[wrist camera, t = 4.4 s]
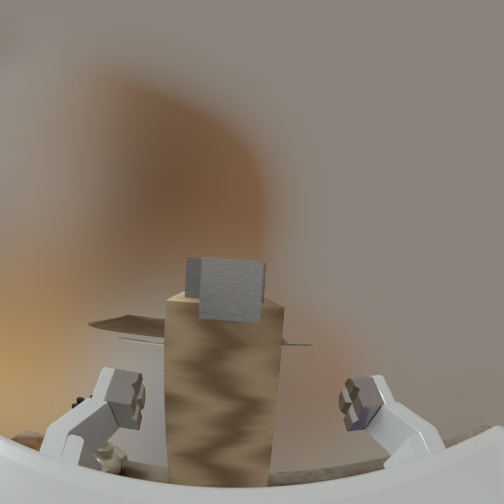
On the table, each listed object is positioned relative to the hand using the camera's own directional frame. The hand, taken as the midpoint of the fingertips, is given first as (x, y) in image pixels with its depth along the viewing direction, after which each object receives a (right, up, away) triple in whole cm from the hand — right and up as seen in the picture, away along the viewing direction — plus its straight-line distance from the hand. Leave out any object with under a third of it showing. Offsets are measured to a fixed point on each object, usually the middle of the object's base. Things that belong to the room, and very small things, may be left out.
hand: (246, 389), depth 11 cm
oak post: (-4, -26, +15) cm, 30 cm away
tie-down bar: (-2, +1, +12) cm, 12 cm away
